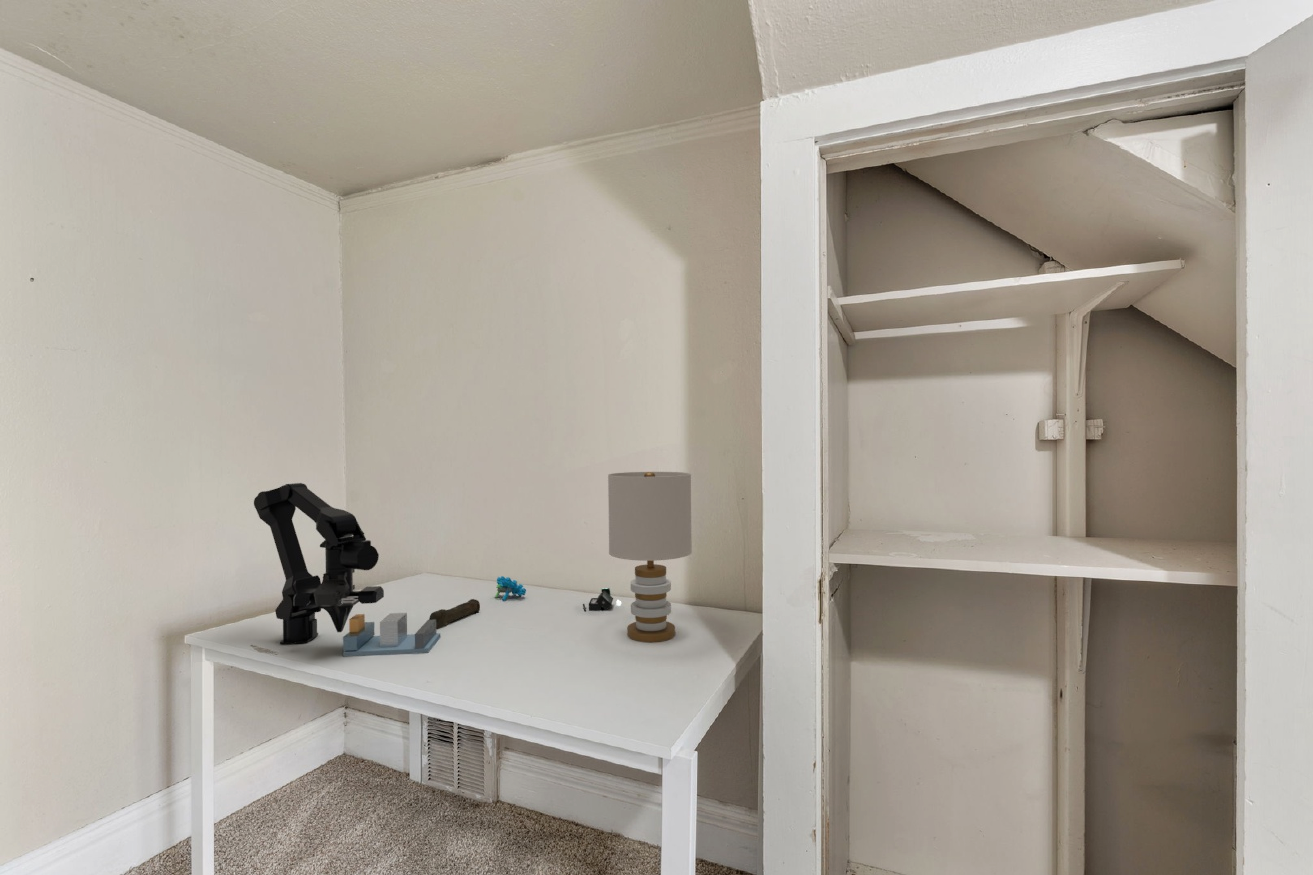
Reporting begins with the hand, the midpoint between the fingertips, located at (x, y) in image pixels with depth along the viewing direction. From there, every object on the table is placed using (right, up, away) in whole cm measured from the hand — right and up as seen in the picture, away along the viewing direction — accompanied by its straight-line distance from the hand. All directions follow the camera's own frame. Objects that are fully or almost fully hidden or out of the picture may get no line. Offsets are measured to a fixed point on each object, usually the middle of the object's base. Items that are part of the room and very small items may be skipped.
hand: (340, 631), depth 144 cm
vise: (+12, -4, +1) cm, 13 cm away
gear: (+30, -4, +44) cm, 54 cm away
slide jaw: (+4, -3, 0) cm, 5 cm away
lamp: (+75, -4, +8) cm, 75 cm away
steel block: (+12, -3, +1) cm, 13 cm away
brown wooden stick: (+21, -4, +21) cm, 30 cm away
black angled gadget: (+59, -4, +32) cm, 68 cm away
